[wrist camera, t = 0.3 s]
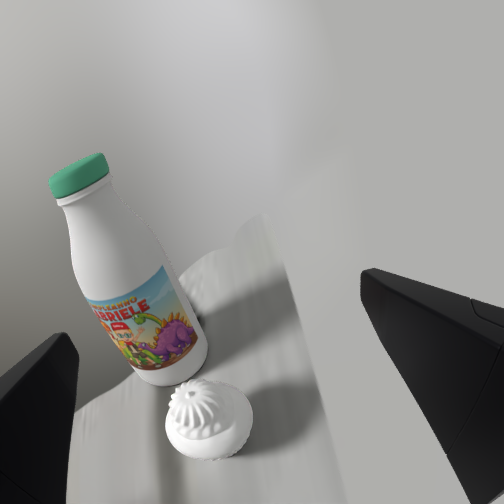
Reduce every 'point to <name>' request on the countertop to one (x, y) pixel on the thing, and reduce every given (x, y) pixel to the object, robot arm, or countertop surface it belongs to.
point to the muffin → (208, 419)
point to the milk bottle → (128, 276)
